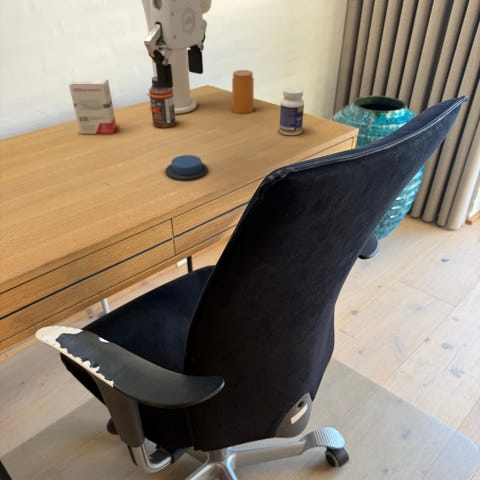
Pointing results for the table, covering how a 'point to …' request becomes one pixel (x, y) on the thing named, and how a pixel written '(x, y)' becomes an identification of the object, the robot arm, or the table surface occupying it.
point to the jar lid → (186, 165)
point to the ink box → (93, 106)
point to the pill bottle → (291, 111)
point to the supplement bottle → (162, 105)
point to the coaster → (185, 178)
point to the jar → (243, 91)
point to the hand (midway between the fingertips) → (181, 79)
